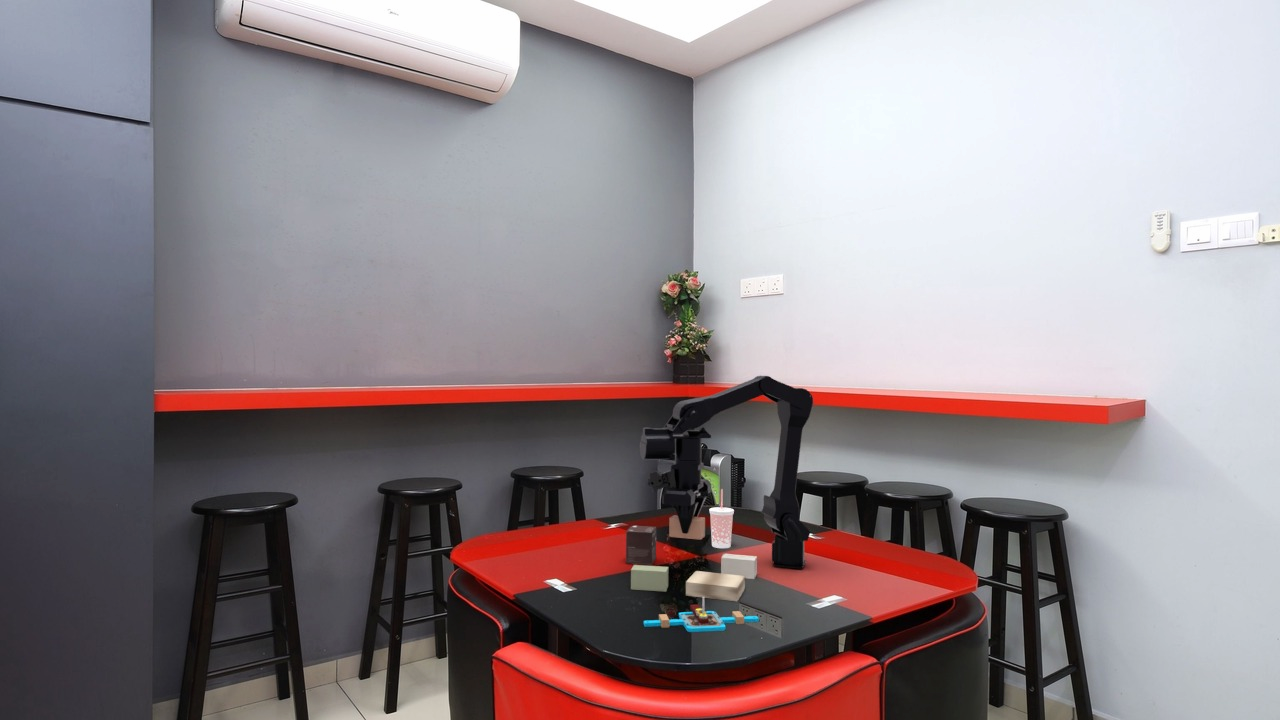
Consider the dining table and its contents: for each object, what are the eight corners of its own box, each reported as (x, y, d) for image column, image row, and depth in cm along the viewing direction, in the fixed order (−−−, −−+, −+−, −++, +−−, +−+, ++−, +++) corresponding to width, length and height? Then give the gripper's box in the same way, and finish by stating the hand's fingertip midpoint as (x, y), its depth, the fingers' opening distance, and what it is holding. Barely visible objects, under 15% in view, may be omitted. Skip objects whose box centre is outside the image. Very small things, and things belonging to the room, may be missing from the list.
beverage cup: (735, 549, 171) (735, 491, 171) (709, 548, 171) (710, 491, 171) (732, 543, 177) (732, 487, 177) (707, 542, 177) (708, 486, 177)
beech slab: (744, 591, 140) (744, 575, 140) (737, 603, 132) (737, 587, 132) (695, 585, 143) (695, 570, 143) (685, 597, 135) (685, 581, 135)
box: (651, 565, 156) (652, 532, 156) (625, 563, 157) (625, 530, 157) (656, 558, 162) (657, 526, 162) (631, 556, 163) (631, 525, 163)
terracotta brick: (704, 536, 152) (705, 517, 153) (700, 539, 149) (701, 520, 149) (673, 533, 155) (674, 514, 155) (669, 536, 151) (669, 518, 152)
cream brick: (756, 575, 150) (756, 556, 150) (754, 579, 146) (754, 560, 147) (724, 572, 152) (724, 553, 152) (721, 576, 149) (721, 557, 149)
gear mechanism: (639, 617, 125) (647, 637, 115) (639, 586, 125) (648, 604, 115) (748, 612, 128) (765, 631, 118) (748, 583, 128) (765, 599, 118)
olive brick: (668, 586, 141) (668, 566, 141) (666, 592, 138) (666, 571, 138) (633, 584, 142) (634, 564, 142) (630, 590, 139) (631, 569, 139)
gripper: (665, 452, 164) (664, 519, 163) (638, 462, 146) (637, 537, 146) (712, 455, 160) (711, 523, 160) (690, 465, 142) (689, 542, 142)
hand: (687, 531), depth 152 cm, fingers closed on terracotta brick, 3 cm apart
